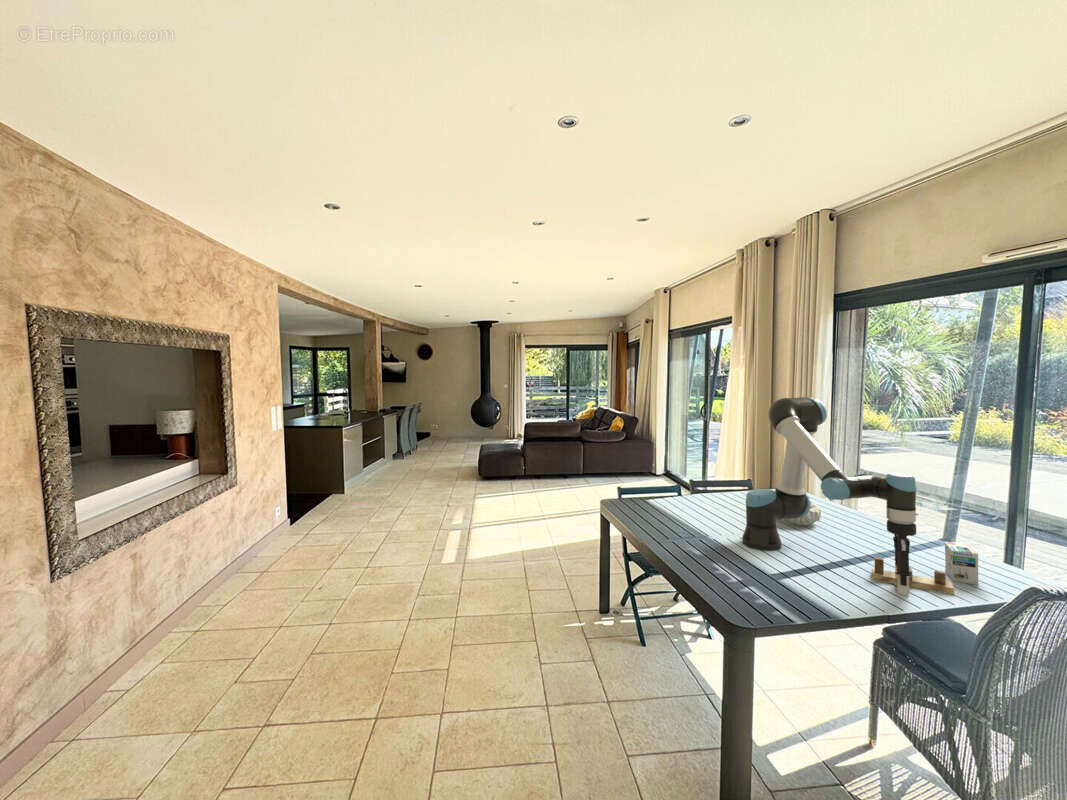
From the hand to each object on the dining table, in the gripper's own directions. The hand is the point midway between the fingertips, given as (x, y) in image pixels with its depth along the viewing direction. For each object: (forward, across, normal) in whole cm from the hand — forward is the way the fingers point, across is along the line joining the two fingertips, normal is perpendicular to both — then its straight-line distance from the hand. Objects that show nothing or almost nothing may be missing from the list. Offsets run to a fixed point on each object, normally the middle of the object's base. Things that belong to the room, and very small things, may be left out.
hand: (901, 589), depth 147 cm
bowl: (0, +66, +34) cm, 74 cm away
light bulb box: (0, +23, -18) cm, 29 cm away
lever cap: (-1, 0, 0) cm, 1 cm away
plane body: (0, +8, -3) cm, 9 cm away
